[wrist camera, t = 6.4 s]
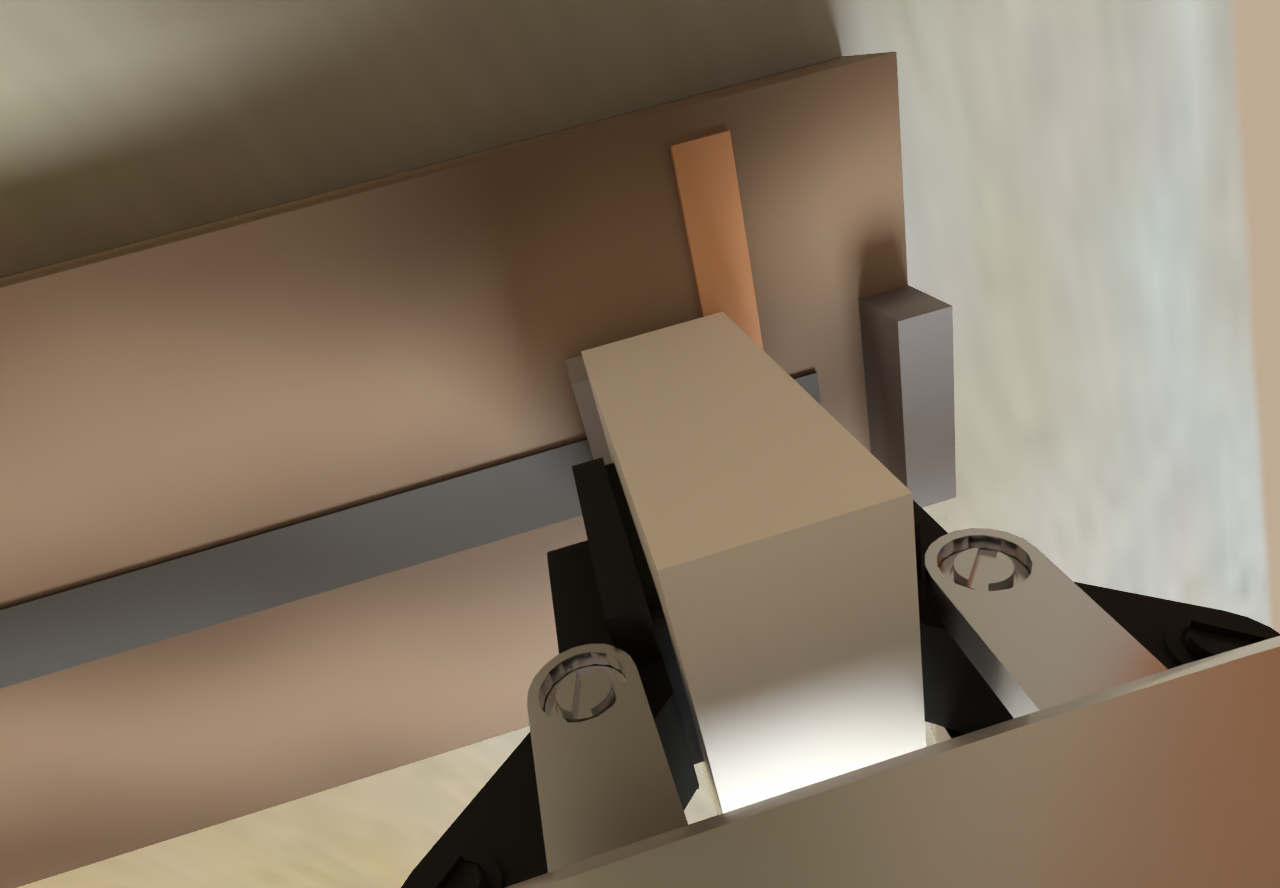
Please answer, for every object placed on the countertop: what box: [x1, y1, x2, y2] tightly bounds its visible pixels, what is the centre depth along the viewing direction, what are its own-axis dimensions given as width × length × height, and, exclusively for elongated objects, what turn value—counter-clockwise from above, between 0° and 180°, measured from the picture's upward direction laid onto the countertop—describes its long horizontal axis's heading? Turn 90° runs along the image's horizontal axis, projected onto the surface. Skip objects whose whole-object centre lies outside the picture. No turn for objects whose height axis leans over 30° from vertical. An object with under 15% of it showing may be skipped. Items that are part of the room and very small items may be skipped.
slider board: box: [0, 52, 956, 888], centre depth 14 cm, size 12×25×4 cm, turn 103°
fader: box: [565, 311, 926, 815], centre depth 11 cm, size 6×3×7 cm, turn 13°
